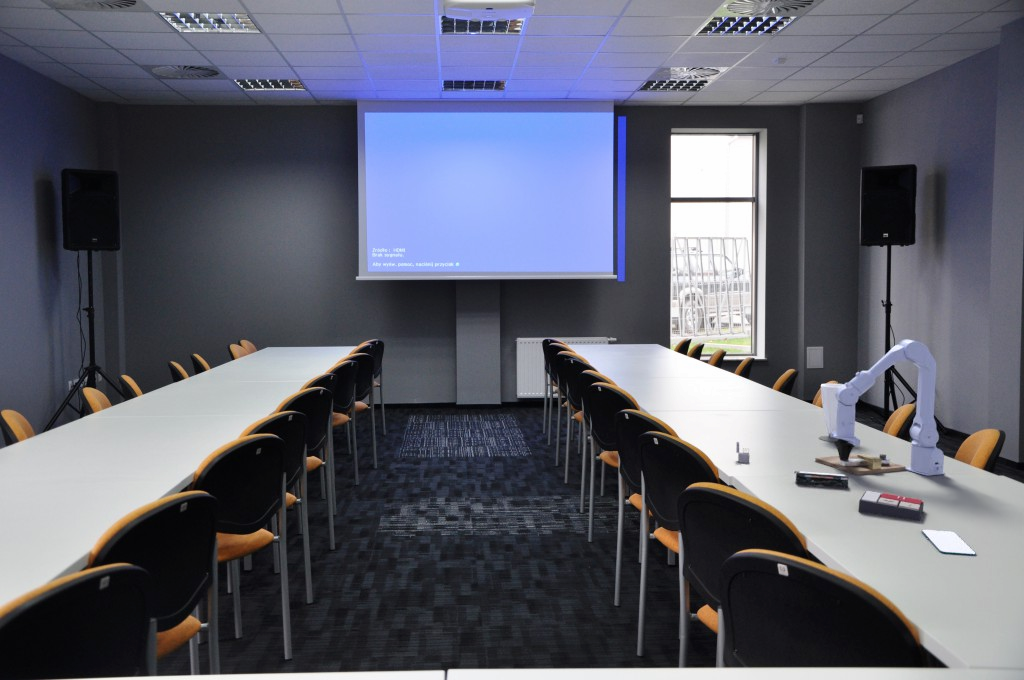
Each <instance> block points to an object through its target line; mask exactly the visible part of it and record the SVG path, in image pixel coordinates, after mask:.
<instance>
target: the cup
mask: <svg viewBox="0 0 1024 680" xmlns="http://www.w3.org/2000/svg"><path fill="white" fill-rule="evenodd" d="M844 386H846V385H845V383H844V384H843V383H821V385H820V394H821V395H820V396H821V406H822V412H823V417H824V423H825V428H826V431H827V434H828V435H822V436H819V437H818V440H821V441H823V442H831V443H834V441H838V439H837V438H834V437H830V433H831V431H836V419H837V404H838V400H837V399H836V396H835V394H836V393H837V390H838V389H839V388H841V387H844Z"/></svg>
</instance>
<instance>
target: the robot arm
mask: <svg viewBox="0 0 1024 680" xmlns="http://www.w3.org/2000/svg"><path fill="white" fill-rule="evenodd" d="M907 361H910V362H911V363H912V364H914V366H916V367H917V368H918V374H917V375H918V376H917V396H916V407H915V408H916V410H915V413H916V414H915V416H914V418H913V422H912V424H911V427H910V428H909V435H910V437H911V439H912V440H911V444H910V465H909V467H906V470H905V471H909V472H913V473H917V474H919V475H924V476H926V477H928V476H936V475H938V476H939V475H944V474H946V473H945V472H944V458H945V456H944V451H942V449H940V448H938V447H937V446H936V445H937V442H939V439H940V435H939V432H938V430H937V422H936V419H935V417H934V416H935V399H936V382H937V381H936V380H937V362H936V360H935V358H934V356H933V355H932V353H931V351H930V349H929V347H928V346H926V345H925V344H924V343H922V342H921V341H918V340H913V339H909V338H907V339H902V340H901V341H899V342H898V344H896V345H894V346H893V347H892V348H891V349H890V350H888V352H886V354H884V355H883V356H882V357H881V358H880V359H879V360H877V362H876V363H875V364H874V365H872V366H871V367H870V368H869V369H868V370H861V371H860V372H859V371H857V372H856V373H855V377H853V378H852V379H851V380H850V381H848V382H845V383H844V384H845V385H846V386H844V387H841V388H839V389H838V390H837V393H836V394H835V396H836V399H837V400H838V404H837V419H836V431H831V433H830V437H834V438H837V439H838V441H834V442H833V444H834V445H835V447H836V449H837V452H838V456H839V458H840V460H848V459H849V455H851V453H852V451H853V449H854V447H855V446H861V439H860V438H858V437H857V436H855V424H856V423H855V422H856V403H858V401H859V397H862V395H863V394H864V393H866V392H867V391H868V390H869V389H870V388H871V387H873V386H874V385H876V378H878V377H879V376H880V375H881V374H883V373H884V372H885V371H886V370H888V369H889V368H890V367H891V366H893V365H895V363H901V362H907Z"/></svg>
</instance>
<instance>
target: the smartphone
mask: <svg viewBox="0 0 1024 680" xmlns="http://www.w3.org/2000/svg"><path fill="white" fill-rule="evenodd" d="M920 532H921V535H923V537H925V539H927V541H928V542H929V543H930V544H931V545H932V546H933V547H934V549H936V550H937V551H938V552H939V553H941V554H945V555H957V556H958V555H962V556H971V557H975V556H976V555H977V552H975V551H974V549H972V548H971V547H970V545H968V544H967V542H966V541H965V540H963V539H962V538H961V536H959V535H958V534H957V532H955V531H952V530H951V531H950V530H941V529H940V530H937V529H926V528H925V529H921V531H920Z"/></svg>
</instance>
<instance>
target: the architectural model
mask: <svg viewBox="0 0 1024 680" xmlns="http://www.w3.org/2000/svg"><path fill="white" fill-rule="evenodd" d="M742 450H744V452H740V441H736V453H737V454H738V457H737V462H738V463H746V464H747V463H748V464H750V448H745V447H744V448H742Z"/></svg>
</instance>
